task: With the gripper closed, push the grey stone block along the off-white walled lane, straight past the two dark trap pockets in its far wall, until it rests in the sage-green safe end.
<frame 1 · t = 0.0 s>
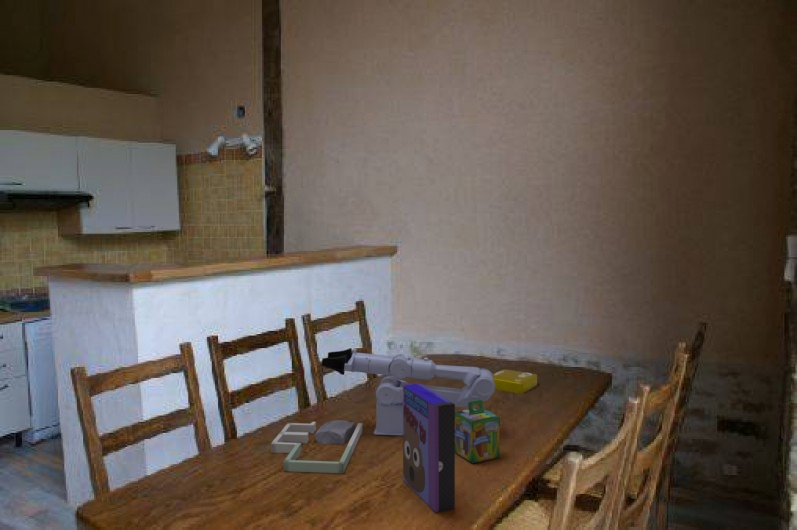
hand: (325, 358, 182), 22 cm above the table, tool horizontal, fingers open, 7 cm apart
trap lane: (328, 445, 170), on the table
element tile: (512, 387, 228), on the table
stone block: (334, 438, 177), on the table
cereal box: (427, 495, 141), on the table
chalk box: (476, 455, 163), on the table
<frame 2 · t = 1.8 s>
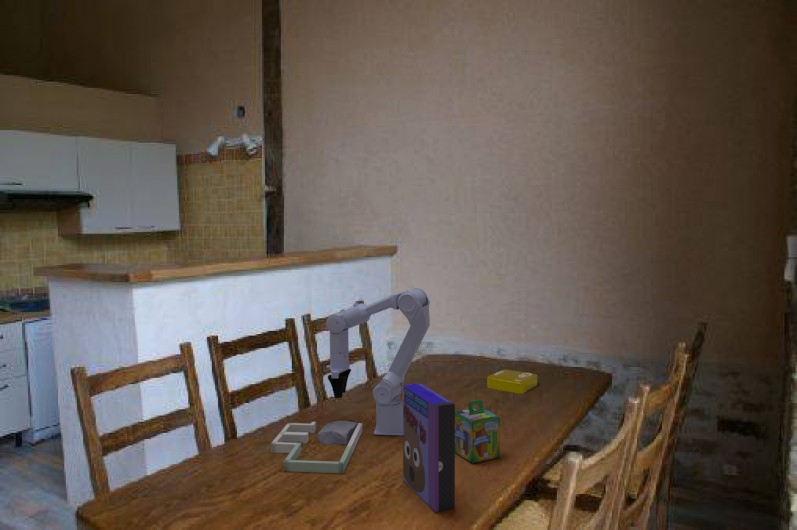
hand: (340, 395, 186), 9 cm above the table, tool pointing down, fingers open, 5 cm apart
nothing on the table moved.
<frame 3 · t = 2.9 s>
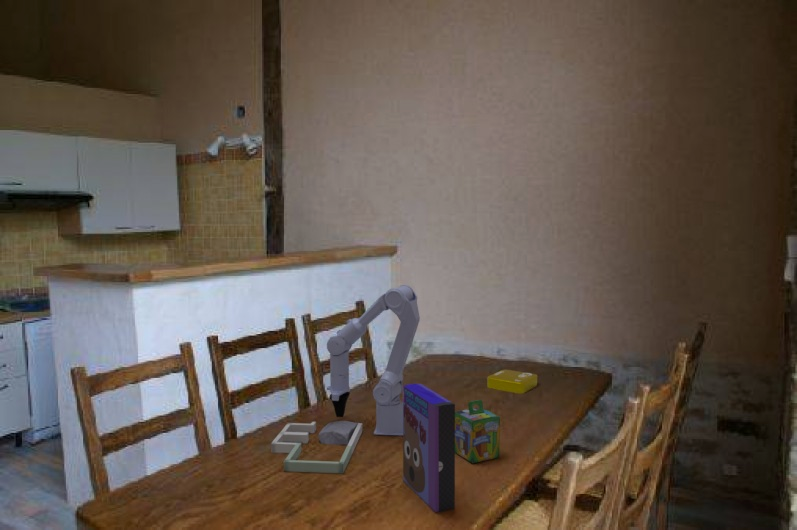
hand: (340, 416, 187), 3 cm above the table, tool pointing down, fingers closed
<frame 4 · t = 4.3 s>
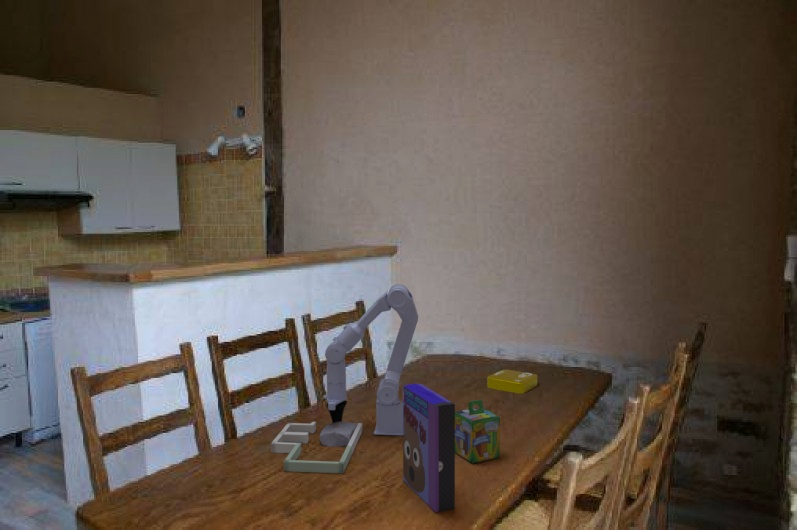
hand: (337, 425, 182), 1 cm above the table, tool pointing down, fingers closed
stone block: (337, 439, 175), on the table, touching gripper
everything else where it was.
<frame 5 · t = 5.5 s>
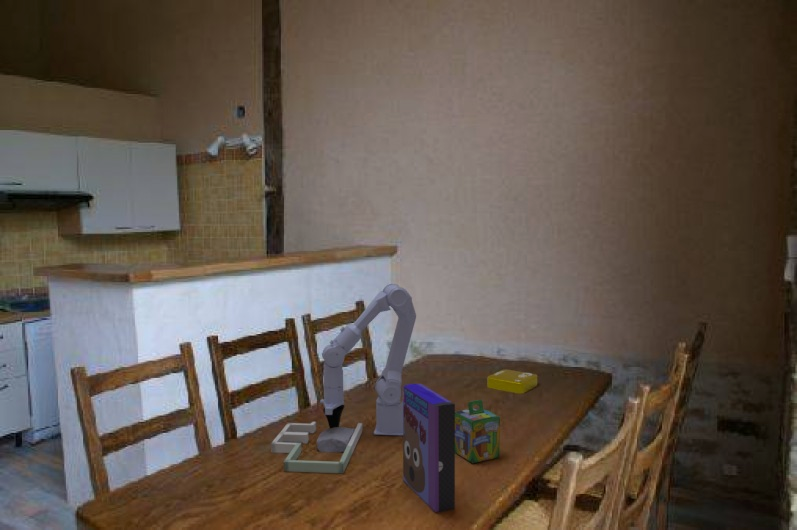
hand: (334, 430, 178), 1 cm above the table, tool pointing down, fingers closed
stone block: (335, 445, 171), on the table
everything else where it was.
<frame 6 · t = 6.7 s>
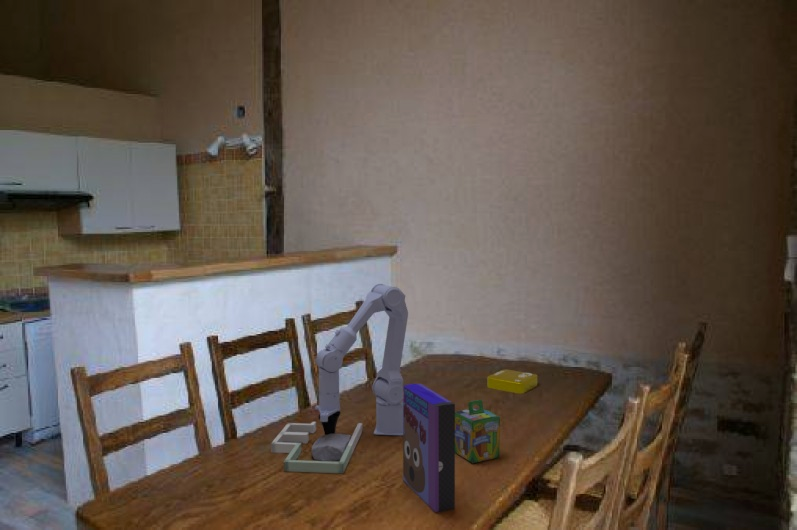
hand: (329, 438, 172), 1 cm above the table, tool pointing down, fingers closed
stone block: (330, 453, 166), on the table, touching gripper
everything else where it was.
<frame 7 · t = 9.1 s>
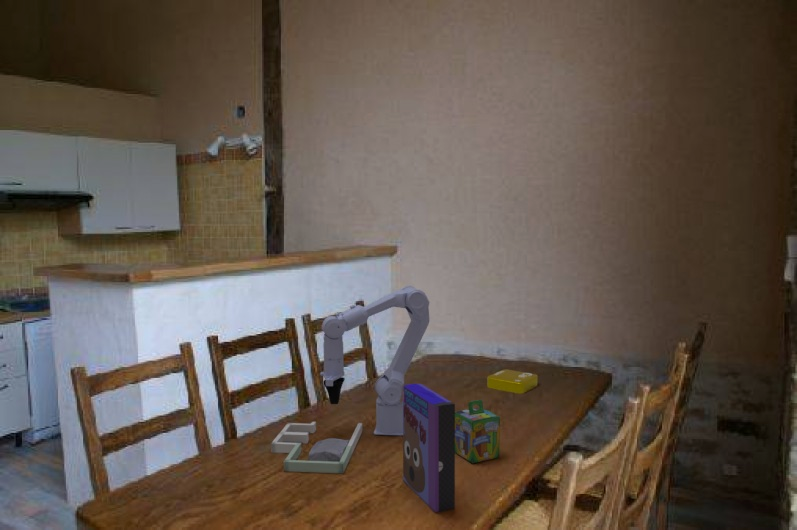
hand: (334, 403, 177), 10 cm above the table, tool pointing down, fingers closed
stone block: (328, 458, 163), on the table
everything else where it was.
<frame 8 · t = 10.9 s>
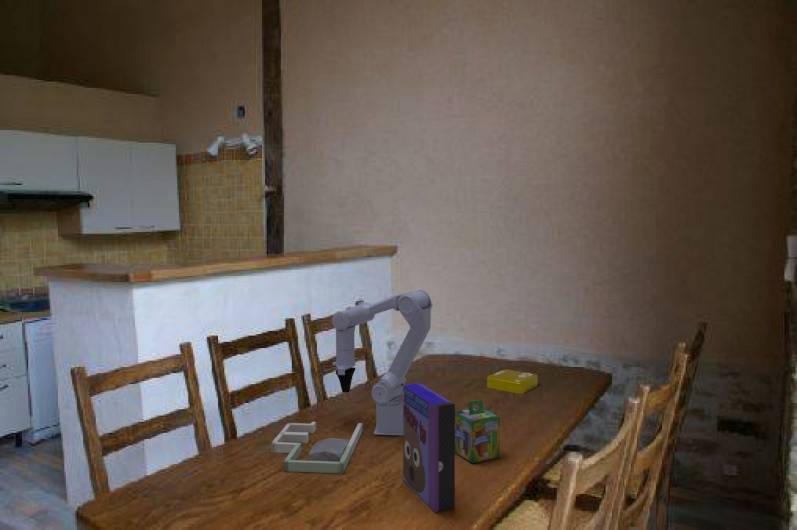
hand: (345, 391, 188), 10 cm above the table, tool pointing down, fingers closed
nothing on the table moved.
at the end: stone block inside the target area (2.0 cm from its centre), on the table; stone block tilted 0°; stone block moved 14.7 cm from its start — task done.
